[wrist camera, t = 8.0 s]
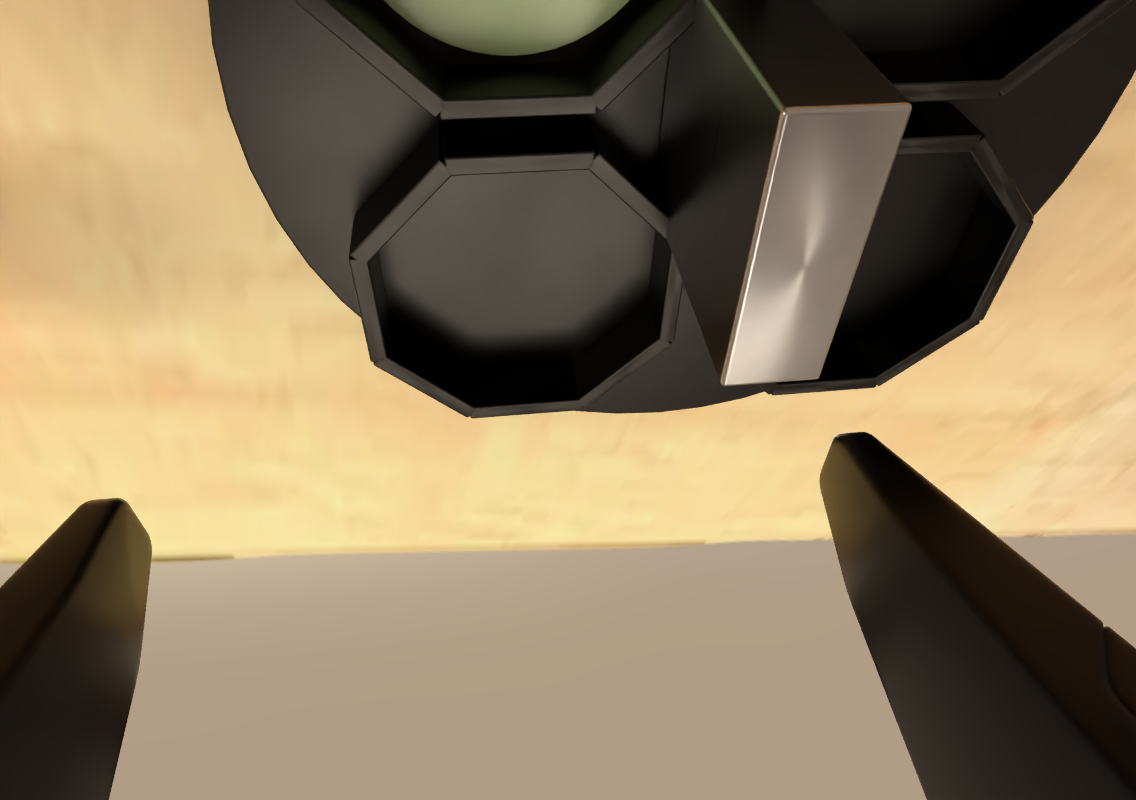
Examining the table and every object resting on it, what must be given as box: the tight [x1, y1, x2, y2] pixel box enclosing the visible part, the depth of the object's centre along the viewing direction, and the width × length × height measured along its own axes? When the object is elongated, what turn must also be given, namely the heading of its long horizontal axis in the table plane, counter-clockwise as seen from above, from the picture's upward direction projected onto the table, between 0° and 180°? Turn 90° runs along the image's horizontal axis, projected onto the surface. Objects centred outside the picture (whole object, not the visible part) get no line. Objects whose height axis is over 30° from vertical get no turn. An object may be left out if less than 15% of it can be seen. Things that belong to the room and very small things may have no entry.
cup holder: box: [208, 0, 1136, 418], centre depth 14 cm, size 19×19×7 cm
